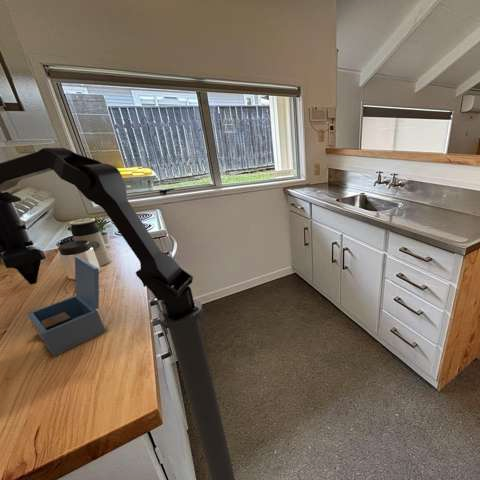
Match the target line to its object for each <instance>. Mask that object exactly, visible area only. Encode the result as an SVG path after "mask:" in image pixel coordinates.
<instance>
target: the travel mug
mask: <svg viewBox="0 0 480 480" xmlns="http://www.w3.org/2000/svg"><path fill="white" fill-rule="evenodd" d="M68 224H69V225H70V226H71V231H70V232H71V235H72V238H73V240H74V241H80V240H87V241H89V243H90V246H91V248H93V250H94V252H95V255H96V258H97V261H98V264H99V266H100V267H102V266H103V267H104V266H105V265H107V264H109V263H110V262H111V259H110V256H109V253H108V250H107V248H106V247H105V244H104V241H103V238H102V235H101V233H102V232H100V229H99V227H98V226H99V225H98V226H97V225H96V224H95V219H94V218H91V217H87V218H86V217H85V218H79V219H75V220H71V221H69V222H68Z"/></svg>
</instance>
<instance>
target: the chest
mask: <svg viewBox="0 0 480 480" xmlns="http://www.w3.org/2000/svg"><path fill="white" fill-rule="evenodd" d="M63 312H65V313H66V314H67V315H68V316H69V317H70V318H71V321H68V322H66V323H63V324H61V325H59V326H56V327H54V328H52V329H49V330H46V329H45V328H44V327H43V325H42V324H41V321H43V320H45V319H48V318H50V317H53V316H55V315H58V314H60V313H63ZM26 315H27V316H28V319H29V320H30V322H31V324H32V326H33V328H34V330H35V332H36V334H37V336H38V337H39V339H40V340H41V341H42V343H43V344H44V345H45V347H46V348H47V350H48V351H49V352H50V353H51V355H52V356H53V357H56V356H59V355H60V354H63V353H65V352H66V351H69V350H70V349H72V348H75V347H77V346H79V345H81V344H83V343H85V342H87V341H89V340H91V339H93V338H95V337H97V336H99V335H102V334H103V333H106V329H105V328H104V325H103V322H102V319H101V317H100V314H99V311H98V309H93V308H92V307H91V306H90V305H89V304H87V303H86V302H85V301H84V300H83V299H81V298H80V297H79V296H78V295H77V294H75V295H73V296H70V297H68V298H66V299H63V300H60V301H57V302H54V303H52V304H49V305H45V306H43V307H41V308H38V309H35V310H32V311H30V312H27V313H26Z"/></svg>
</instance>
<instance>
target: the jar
mask: <svg viewBox="0 0 480 480" xmlns="http://www.w3.org/2000/svg"><path fill="white" fill-rule="evenodd" d="M57 249H58V251H59V256H58V257H59V258H60V261H61V263H62V265H63V268H64V270H65V273H66V275H67V277H68V279H70V280H75V257H80V258H82V259H84V260H85V261H87V262H89V263H90V264H92V265H94V266H95V267H97V268H99V272H100V271H102V269H101V266H99V264H98V261H97V258H96V255H95V252H94V250H93V248H91V246H90V243H89V241H87V240H80V241H75V240H74V241H69V242H66V243H63V244H60V245H59V246H58V247H57Z"/></svg>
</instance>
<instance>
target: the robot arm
mask: <svg viewBox="0 0 480 480" xmlns="http://www.w3.org/2000/svg"><path fill="white" fill-rule="evenodd" d="M52 171H53V172H54V173H55V174H56V175H57V177H58V178H60V179H61V180H63V181H65V182H67V183H69V184H71V185H73V186H75V188H76V189H77V190H78V191H79V192H80V193H81V194H82V195H83V196H84V197H85V198H86V199H87V200H88V201H90V202H92V203H94V204H96V205H97V206H99V207H100V208H102V210H103V211H104V212H105V213H106V215H107V216H108V217H109V218H108V219H109V220H110V221H111V220H112V221H111V222H112V224H113V226H115V228H116V229H117V231H118V232H119V234H120V235H121V237H123V240H124V241H125V242H126V244H127V245H128V247H129V248H130V249H131V251H132V253H133V254H134V255H135V257H136V258H137V260H138V261H139V264H140V268H139V269H138V270H137V271H135V275H136V277H137V278H138V279H139V280H140V281H141V283H142V285H143V287H146V288H147V289H148V290H149V291H150V292H151V293H152V294H153V297H155V299H156V300H157V301H160V306H161V309H162V310H163V314H164V315H165V316H167V317H168V318H171V319H172V320H174V321H177V320H179V319H181V318H183V317H184V316H186V315H188V314H190V313H192V312H193V311H195V310H197V309H198V306H196V305H194V301H193V300H194V297H193V293H192V287H191V286H190V285H192V283H193V279H194V276H193V275H192V274H190V273H188V271H186V270H184V269H183V268H182V267H181V266H180V265H179V263H178V262H177V261H176V260H175V259H174V258H173V257H172V256H170V255H168V254H166V253H165V252H163V251H162V250H161V249H160V248H159V246H158V244H157V243H156V242H155V240H154V238H153V237H152V236H151V234H150V232H149V231H148V229H147V228H146V226H145V225H144V223H143V221H142V220H141V219H140V217H139V215H138V214H137V212H136V211H135V209H134V207H133V206H132V205H131V203H130V201H129V200H128V195H127V184H126V182H125V180H124V177H123V176H122V174H121V171H120V170H119V169H118V168H117V167H116V166H115V165H112V164H109V163H103V162H101V161H99V160H97V159H94V158H90V157H87V156H84V155H82V154H78V153H76V152H74V151H72V150H70V149H68V148H64V147H43V148H41V149H39V150H38V151H35V152H32V153H28V154H25V155H22V156H18V157H16V158H11V159H9V160H5V161H2V162H0V260H1V262H2V264H3V266H4V267H5V268H6V269H16V271H17V272H18V273H19V274H20V275H21V277H23V278H24V280H25V281H27V283H28V284H29V285H35V284H37V282H38V277H39V271H40V267H41V263H42V260H45V259H46V258H47V257H46V254H45V252H44V250H42V249H41V248H40V247H37V246H34V242H33V240H31V238H30V237H29V234H28V232H27V229H28V228H27V226H26V224H24V223H23V220H22V219H21V216H20V214H19V213H18V210H17V208H16V206H15V203H19V202H22V198H21V197H19V196H17V195H14V194H12V193H10V191H9V190H11V189H13V188H14V187H16V186H18V185H19V182H20V181H23V180H25V179H29V178H32V177H36V176H38V175H41V174H46V173H48V172H52ZM162 310H161V311H162Z"/></svg>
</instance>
